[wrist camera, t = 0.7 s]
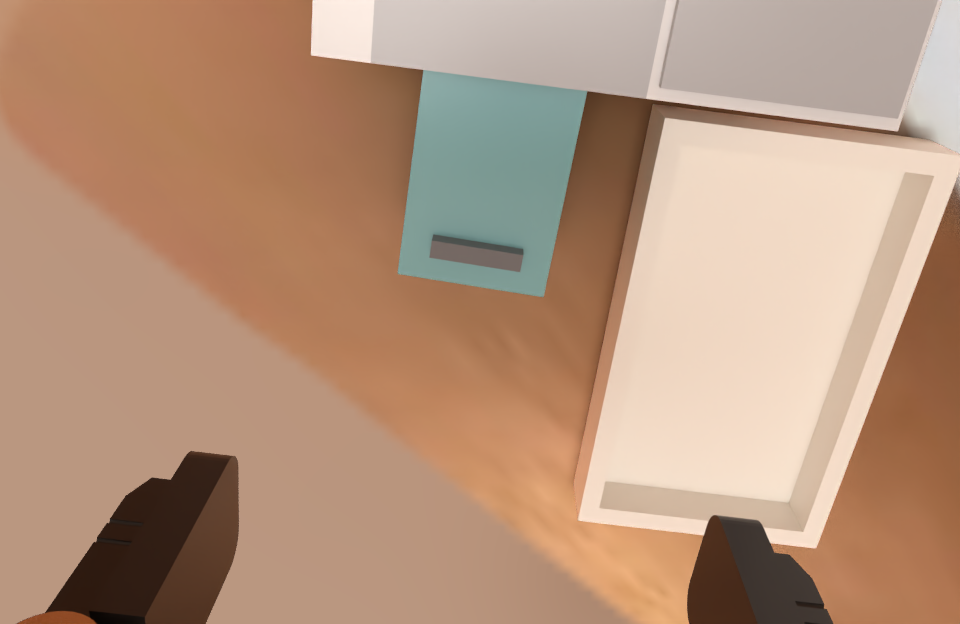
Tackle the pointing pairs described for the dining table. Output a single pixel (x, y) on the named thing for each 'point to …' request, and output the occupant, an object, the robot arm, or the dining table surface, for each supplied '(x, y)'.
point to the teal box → (488, 181)
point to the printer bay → (658, 49)
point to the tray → (753, 318)
